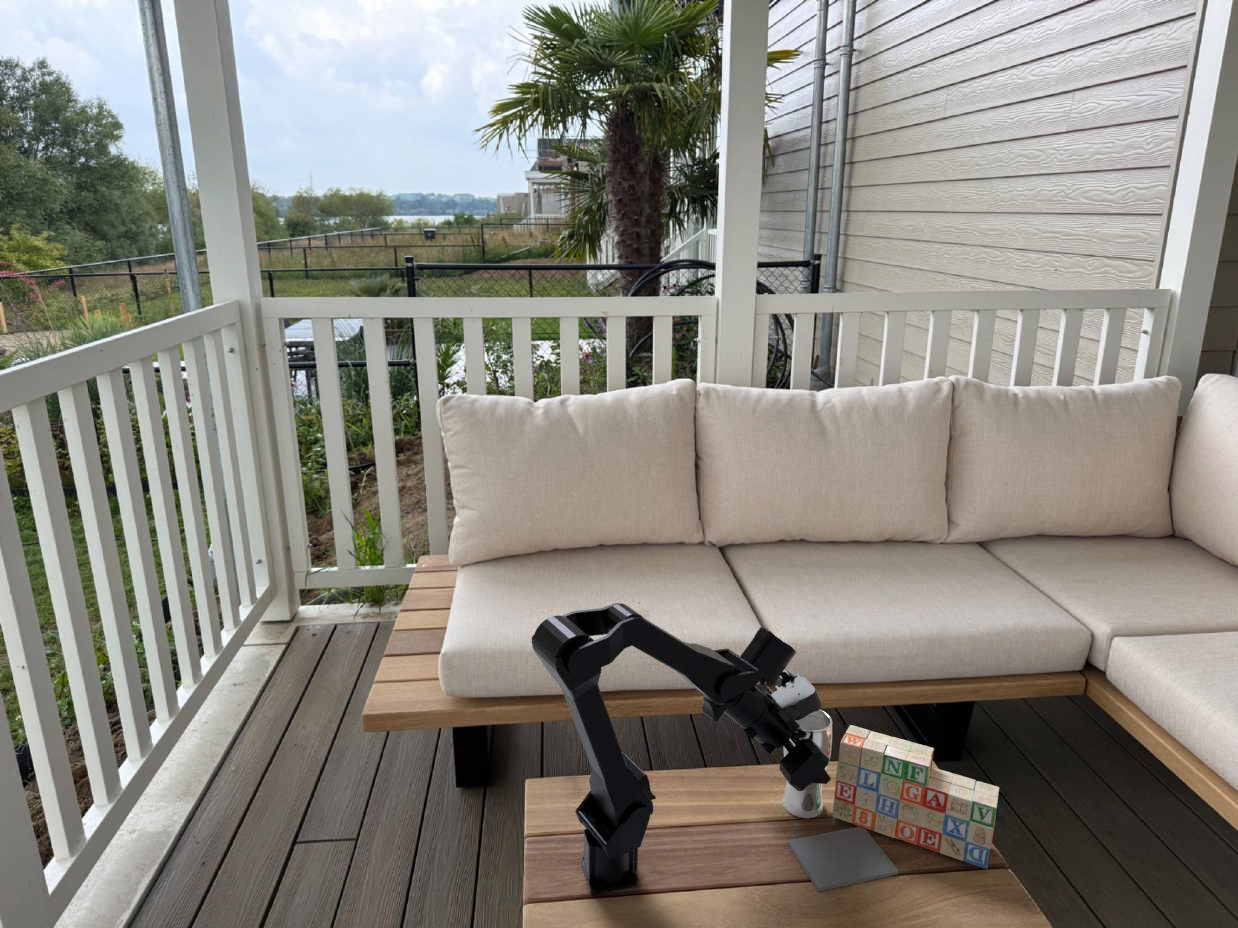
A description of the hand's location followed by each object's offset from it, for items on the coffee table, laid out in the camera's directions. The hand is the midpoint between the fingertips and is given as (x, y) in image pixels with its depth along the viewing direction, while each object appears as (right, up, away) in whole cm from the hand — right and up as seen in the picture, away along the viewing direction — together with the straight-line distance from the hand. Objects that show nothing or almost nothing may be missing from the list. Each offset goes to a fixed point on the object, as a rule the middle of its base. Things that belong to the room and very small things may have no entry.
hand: (814, 763), depth 121 cm
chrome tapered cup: (-1, -7, +2) cm, 7 cm away
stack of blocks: (+13, -9, -4) cm, 16 cm away
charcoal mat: (+2, -10, -9) cm, 14 cm away
